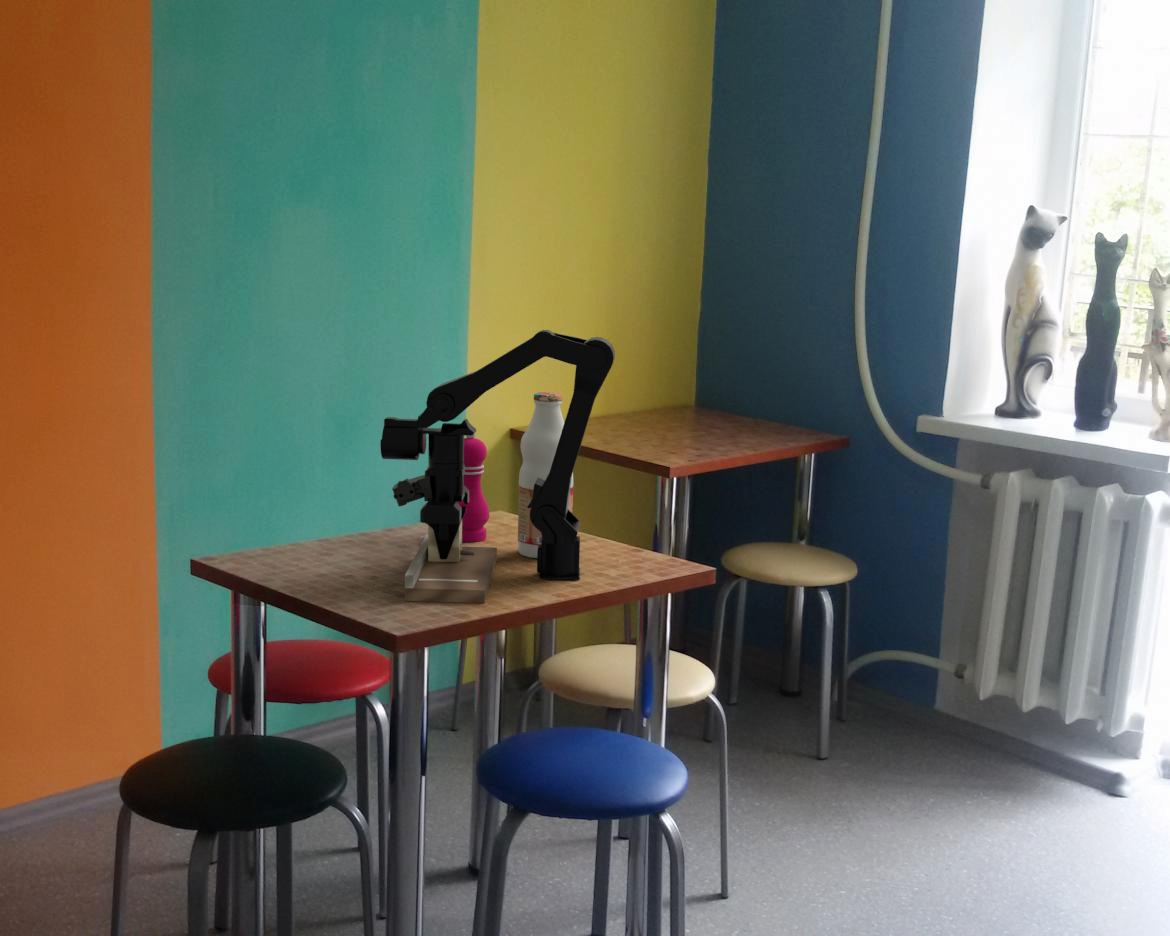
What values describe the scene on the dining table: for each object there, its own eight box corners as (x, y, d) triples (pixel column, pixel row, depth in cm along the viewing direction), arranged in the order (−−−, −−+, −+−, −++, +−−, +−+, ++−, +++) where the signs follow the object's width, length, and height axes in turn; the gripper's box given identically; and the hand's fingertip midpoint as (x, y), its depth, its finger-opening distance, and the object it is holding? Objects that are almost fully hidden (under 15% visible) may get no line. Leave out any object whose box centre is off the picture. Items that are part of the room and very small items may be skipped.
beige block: (475, 555, 229) (475, 519, 228) (472, 562, 224) (472, 526, 223) (431, 554, 229) (431, 518, 228) (428, 561, 224) (428, 525, 223)
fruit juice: (506, 553, 239) (509, 393, 235) (539, 544, 247) (543, 389, 242) (549, 562, 234) (553, 398, 229) (582, 553, 242) (586, 394, 237)
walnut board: (496, 558, 236) (497, 536, 235) (484, 603, 208) (484, 577, 207) (426, 557, 236) (426, 534, 235) (404, 600, 208) (404, 575, 207)
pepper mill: (451, 543, 246) (452, 432, 243) (447, 534, 253) (448, 426, 250) (491, 542, 248) (493, 432, 244) (486, 533, 255) (487, 426, 251)
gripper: (403, 450, 233) (403, 541, 235) (388, 469, 214) (387, 567, 217) (470, 452, 233) (468, 542, 235) (459, 471, 214) (458, 569, 217)
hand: (445, 555), depth 226 cm, fingers closed on beige block, 5 cm apart
